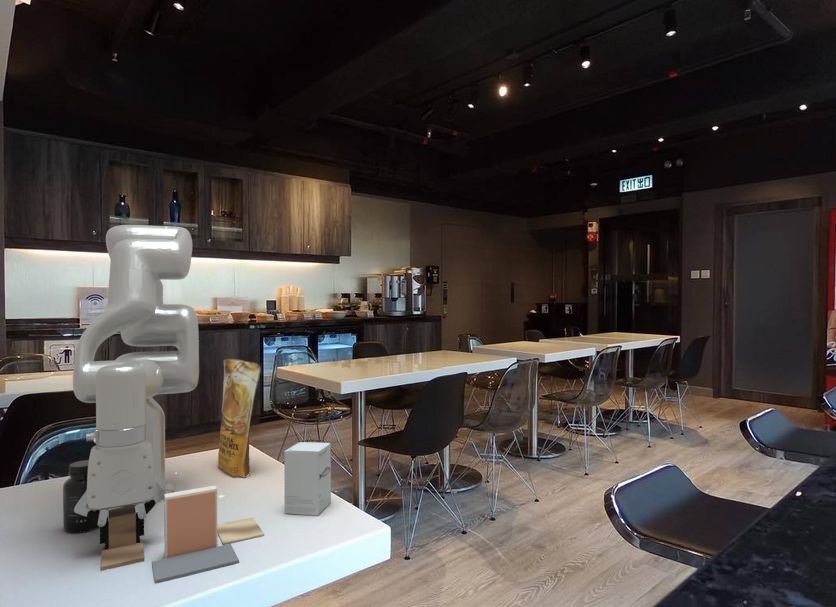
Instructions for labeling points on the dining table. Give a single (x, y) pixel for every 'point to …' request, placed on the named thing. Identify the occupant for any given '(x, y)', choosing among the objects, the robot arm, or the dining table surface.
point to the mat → (193, 563)
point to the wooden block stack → (122, 540)
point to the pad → (239, 530)
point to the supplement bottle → (76, 499)
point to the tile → (190, 521)
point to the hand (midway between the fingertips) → (122, 542)
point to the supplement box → (307, 478)
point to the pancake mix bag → (237, 415)
